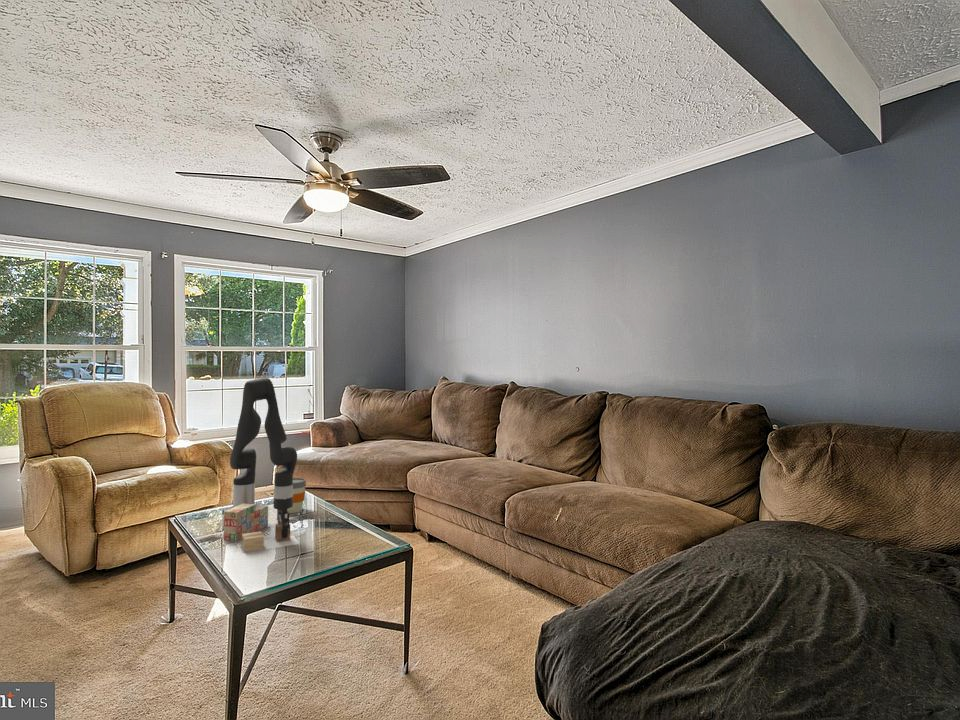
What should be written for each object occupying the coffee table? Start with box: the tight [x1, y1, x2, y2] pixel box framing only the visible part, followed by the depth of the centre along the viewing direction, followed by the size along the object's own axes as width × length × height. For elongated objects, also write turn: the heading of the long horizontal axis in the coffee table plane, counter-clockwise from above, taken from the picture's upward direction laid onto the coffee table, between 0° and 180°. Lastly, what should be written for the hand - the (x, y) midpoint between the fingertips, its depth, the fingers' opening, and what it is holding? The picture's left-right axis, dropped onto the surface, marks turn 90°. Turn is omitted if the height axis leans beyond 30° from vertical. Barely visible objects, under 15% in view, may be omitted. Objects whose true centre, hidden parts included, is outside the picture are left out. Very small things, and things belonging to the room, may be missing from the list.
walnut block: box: [274, 523, 291, 542], centre depth 210 cm, size 5×5×6 cm
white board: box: [236, 535, 300, 554], centre depth 205 cm, size 12×22×1 cm, turn 121°
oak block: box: [241, 530, 265, 553], centre depth 200 cm, size 7×7×5 cm
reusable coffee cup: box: [287, 477, 307, 514], centre depth 254 cm, size 13×13×15 cm
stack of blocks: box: [223, 504, 269, 541], centre depth 220 cm, size 21×6×12 cm, turn 168°
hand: (282, 535), depth 210 cm, fingers open, 8 cm apart
